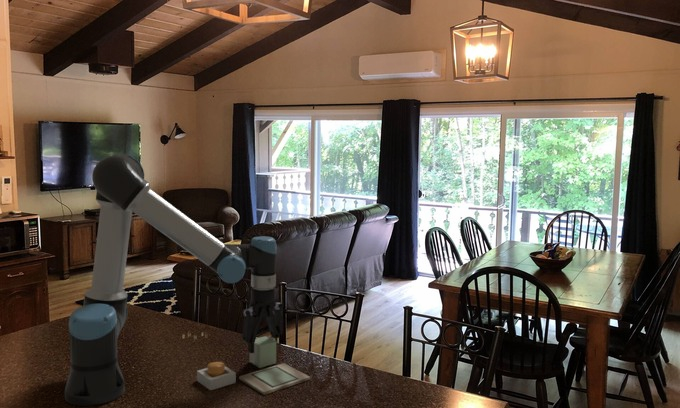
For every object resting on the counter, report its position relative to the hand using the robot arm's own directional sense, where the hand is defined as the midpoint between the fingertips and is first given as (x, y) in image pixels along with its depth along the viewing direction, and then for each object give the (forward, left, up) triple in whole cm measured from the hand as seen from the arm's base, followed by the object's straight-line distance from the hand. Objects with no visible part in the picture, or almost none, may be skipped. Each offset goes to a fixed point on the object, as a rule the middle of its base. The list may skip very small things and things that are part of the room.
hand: (262, 359), depth 179 cm
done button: (-18, -3, +1) cm, 18 cm away
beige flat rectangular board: (-4, -12, -1) cm, 13 cm away
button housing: (-18, -3, -1) cm, 18 cm away
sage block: (0, 0, -1) cm, 1 cm away
